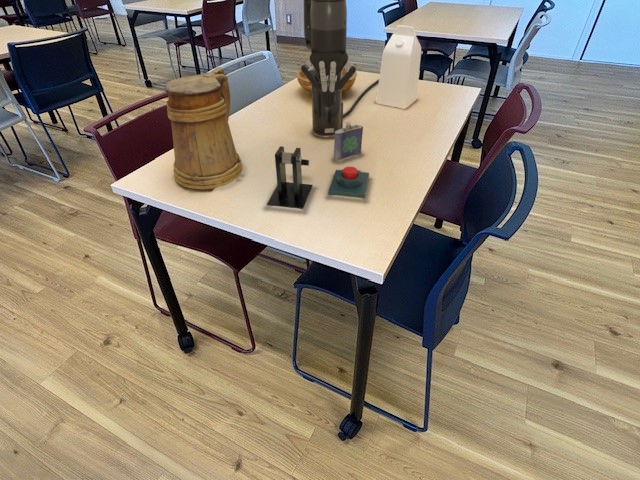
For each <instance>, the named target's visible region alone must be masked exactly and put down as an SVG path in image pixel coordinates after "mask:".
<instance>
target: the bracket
mask: <svg viewBox="0 0 640 480" xmlns="http://www.w3.org/2000/svg"><path fill="white" fill-rule="evenodd" d="M301 151H302V149H301V147H296V148H295V149H294V151H293V152H292V153H293V155H292V164H291V167H292V182H289V181H287V168H286V164H285V163H282V153H283V152H285V146H279V147H278V149H277V150H276V152H275V153H274V163H275V173H276V175H275V176H276V186H275V189H274V191H272V192H273V193H272V194H271V196H270V197H269V200H268V201H267V203H266V206H271V207H281V208H288V209H298V210H304V208H305V206H306V203H307V201H308V198H309V196H310V194H311V191H312V189H313V186H314V185H313V184H311V183H303V174H302V165H301V159H302V152H301Z"/></svg>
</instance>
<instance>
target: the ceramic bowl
mask: <svg viewBox="0 0 640 480" xmlns="http://www.w3.org/2000/svg"><path fill="white" fill-rule="evenodd" d="M312 66H313V65H312ZM313 68H314V66H313ZM345 69H346V66H344V67H343V72H342V77H343V76H344V75H345V74H346V72H345ZM295 76H296V77H297V81H298V84H299V86H300V87H301V88H302V89H303V90H305V91H306V92H309V93H311V94H312V83H311V82H310V81H309V79H308V78H307V77H306V75H305V74H304V73H303V72H302V70H301V69H299V70H298V71H297V72H296V73H295ZM357 76H358V73H357V71H356V72H355V73H354V74H353V75H352V77H351V78H350V79H349V80H348V82H347V83H346V84H345V85H344V87H343V88H342V93H344V92H346V91H348V90H350V89H351V88H352V87H353V86H354V84H355V82H356V78H357Z"/></svg>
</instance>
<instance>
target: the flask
mask: <svg viewBox="0 0 640 480" xmlns="http://www.w3.org/2000/svg"><path fill="white" fill-rule="evenodd" d="M363 130H364V126H362V125H360V124H354V125H352V124H351V122H350V121H345V127H343V129H340V130H337V131H335V134H334V135H335V137H334V141H333V143H334V145H333V159H334V160H337V161H339V160H342V159H344V158H347V157H351V156H354V155H359V154H361V153H362V144H363V134H364V132H363Z"/></svg>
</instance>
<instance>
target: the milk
mask: <svg viewBox="0 0 640 480" xmlns="http://www.w3.org/2000/svg"><path fill="white" fill-rule="evenodd" d="M421 57H422V46H421V43H420V41H419V39H418V36H417V34H416V30H415V26H411V25H402V24H397V25H396V27H395V29H394V30H393V33H392V34H391V36H390V38H389V40H388V41H387V43H386V45H385V47H384V49H383V52H382V56H381V64H380V71H379V76H378V77H379V78H378V80H379V82H378V83H377V84H378V85H377V92H376V98H375V104H378V105H384V106H387V107H393V108H397V109H402V110H406V109H407V108H408V107H409V106H411V105H412V104H413V103H414V102H415V101H417V96H418V87H419V79H420V78H419V77H420V67H421V59H422V58H421Z"/></svg>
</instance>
